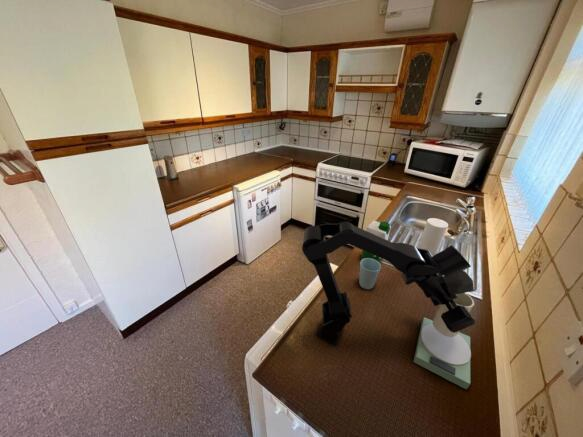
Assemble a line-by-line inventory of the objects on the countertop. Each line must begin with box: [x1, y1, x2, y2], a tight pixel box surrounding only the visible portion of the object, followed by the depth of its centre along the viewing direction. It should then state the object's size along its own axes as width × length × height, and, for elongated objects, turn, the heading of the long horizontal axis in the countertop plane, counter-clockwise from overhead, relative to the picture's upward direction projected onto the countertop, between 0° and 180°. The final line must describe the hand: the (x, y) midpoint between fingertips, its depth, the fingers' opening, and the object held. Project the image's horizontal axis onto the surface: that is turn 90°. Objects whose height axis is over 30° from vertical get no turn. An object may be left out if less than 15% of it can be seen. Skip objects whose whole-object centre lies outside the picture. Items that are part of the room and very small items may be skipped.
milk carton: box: [360, 220, 392, 263], centre depth 105 cm, size 9×9×20 cm
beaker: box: [432, 292, 475, 337], centre depth 69 cm, size 7×7×12 cm
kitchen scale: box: [413, 316, 472, 390], centre depth 71 cm, size 16×13×3 cm
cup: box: [358, 258, 382, 290], centre depth 94 cm, size 8×8×10 cm
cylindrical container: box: [417, 217, 449, 256], centre depth 97 cm, size 7×7×25 cm
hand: (457, 312), depth 69 cm, fingers closed on beaker, 7 cm apart
